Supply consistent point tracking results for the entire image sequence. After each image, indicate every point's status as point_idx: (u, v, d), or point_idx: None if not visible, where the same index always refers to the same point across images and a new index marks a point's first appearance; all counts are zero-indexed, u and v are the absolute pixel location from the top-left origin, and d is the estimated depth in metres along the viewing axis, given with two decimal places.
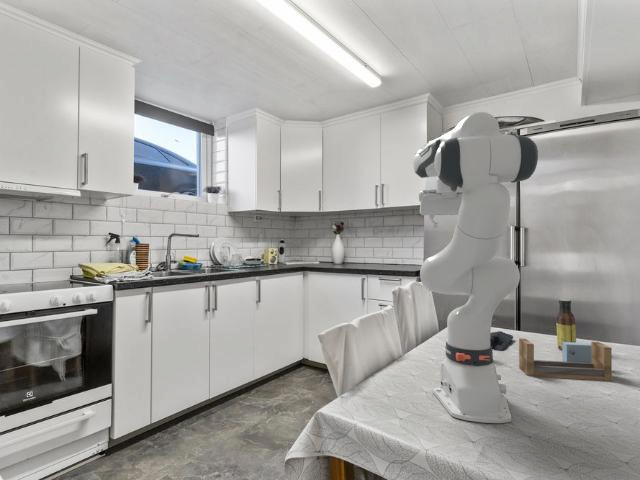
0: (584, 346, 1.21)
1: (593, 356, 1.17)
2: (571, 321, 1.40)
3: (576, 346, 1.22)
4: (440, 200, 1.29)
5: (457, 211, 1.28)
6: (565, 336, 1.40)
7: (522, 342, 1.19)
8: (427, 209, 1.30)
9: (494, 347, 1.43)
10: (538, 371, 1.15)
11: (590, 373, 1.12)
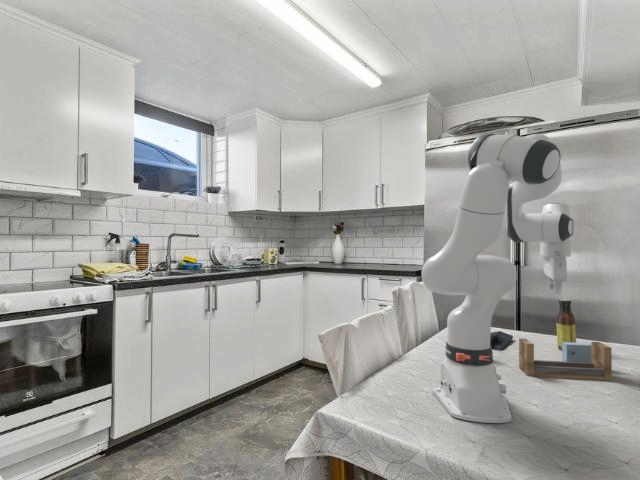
0: (584, 346, 1.21)
1: (593, 356, 1.17)
2: (571, 321, 1.40)
3: (576, 346, 1.22)
4: None
5: None
6: (565, 336, 1.40)
7: (522, 342, 1.19)
8: None
9: (493, 347, 1.44)
10: (538, 371, 1.15)
11: (590, 373, 1.12)
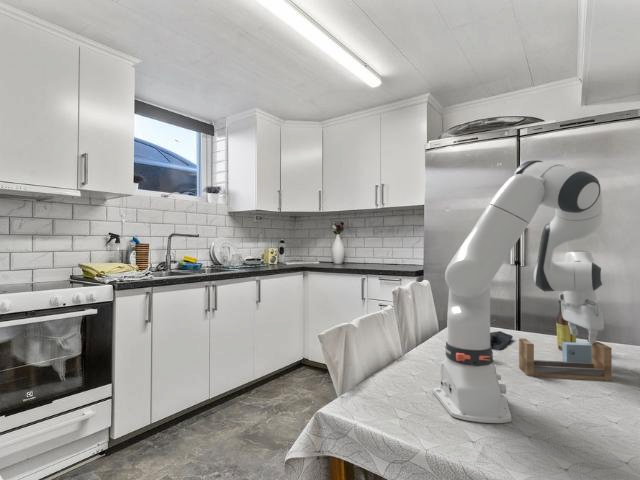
0: (584, 346, 1.21)
1: (593, 356, 1.17)
2: None
3: (576, 346, 1.22)
4: None
5: None
6: (565, 336, 1.40)
7: (522, 342, 1.19)
8: None
9: (492, 347, 1.44)
10: (538, 371, 1.15)
11: (590, 373, 1.12)
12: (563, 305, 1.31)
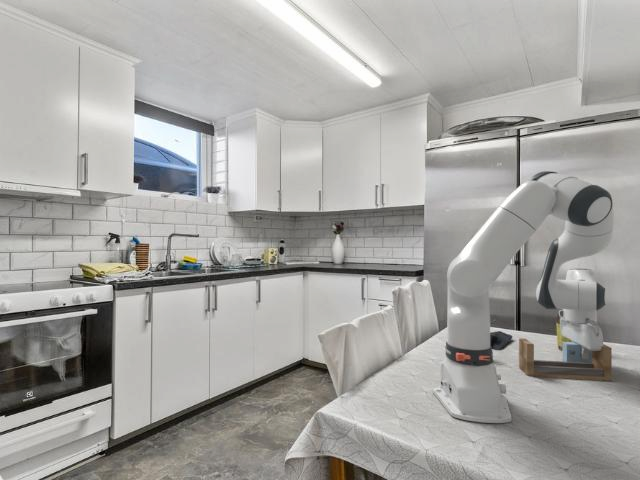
0: None
1: (593, 356, 1.17)
2: None
3: (576, 346, 1.21)
4: None
5: None
6: None
7: (522, 342, 1.19)
8: None
9: (492, 346, 1.44)
10: (538, 371, 1.15)
11: (590, 373, 1.12)
12: (562, 321, 1.31)
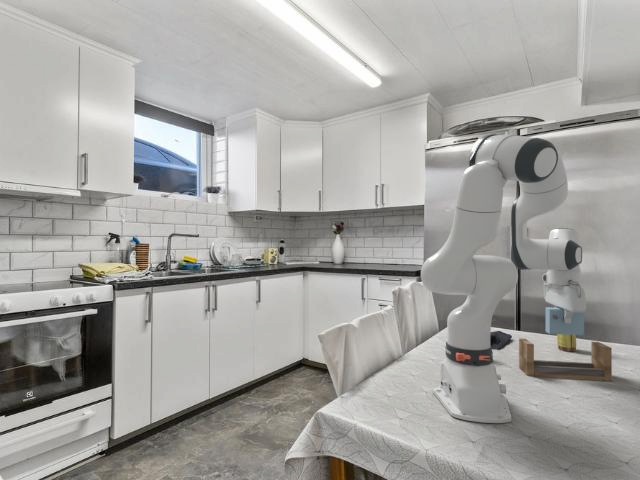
0: None
1: (593, 356, 1.17)
2: None
3: (559, 311, 1.15)
4: None
5: None
6: (565, 336, 1.40)
7: (522, 342, 1.19)
8: None
9: (491, 346, 1.45)
10: (538, 371, 1.15)
11: (590, 373, 1.12)
12: (546, 286, 1.24)
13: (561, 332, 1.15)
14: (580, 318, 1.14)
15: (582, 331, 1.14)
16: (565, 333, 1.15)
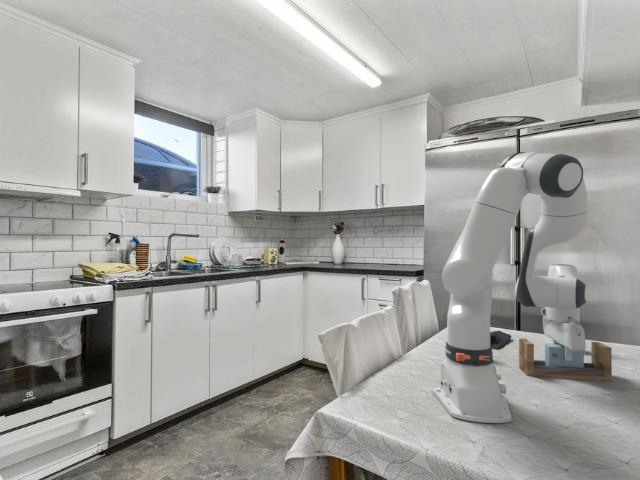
0: None
1: (593, 356, 1.17)
2: None
3: (559, 348, 1.15)
4: None
5: None
6: None
7: (522, 342, 1.19)
8: None
9: None
10: (538, 371, 1.15)
11: (590, 373, 1.12)
12: (545, 320, 1.24)
13: None
14: (580, 356, 1.14)
15: None
16: None
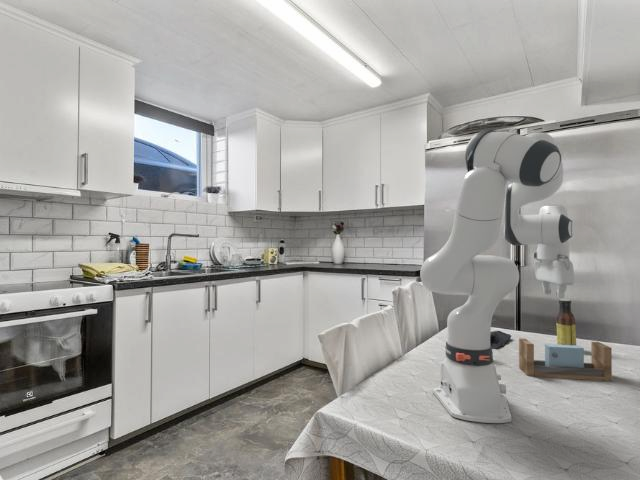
0: (567, 348, 1.15)
1: (593, 356, 1.17)
2: (571, 321, 1.40)
3: (559, 348, 1.15)
4: None
5: None
6: (565, 336, 1.40)
7: (522, 342, 1.19)
8: None
9: None
10: (538, 371, 1.15)
11: (590, 373, 1.12)
12: (536, 264, 1.27)
13: None
14: (580, 356, 1.14)
15: None
16: None
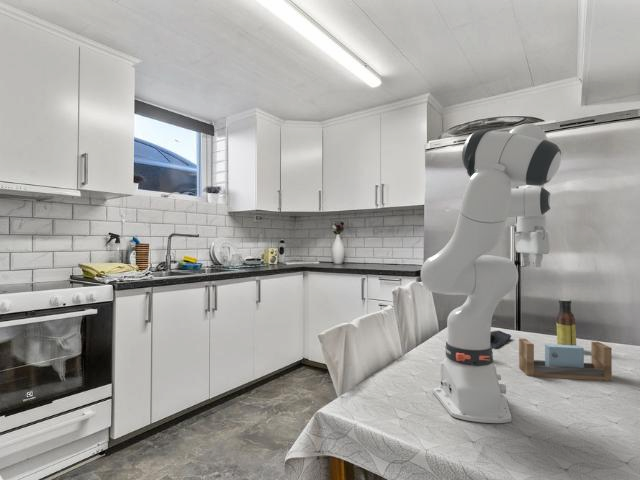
0: (567, 348, 1.15)
1: (593, 356, 1.17)
2: (571, 321, 1.40)
3: (559, 348, 1.15)
4: None
5: None
6: (565, 336, 1.40)
7: (522, 342, 1.19)
8: None
9: None
10: (538, 371, 1.15)
11: (590, 373, 1.12)
12: (516, 238, 1.35)
13: None
14: (580, 356, 1.14)
15: None
16: None
